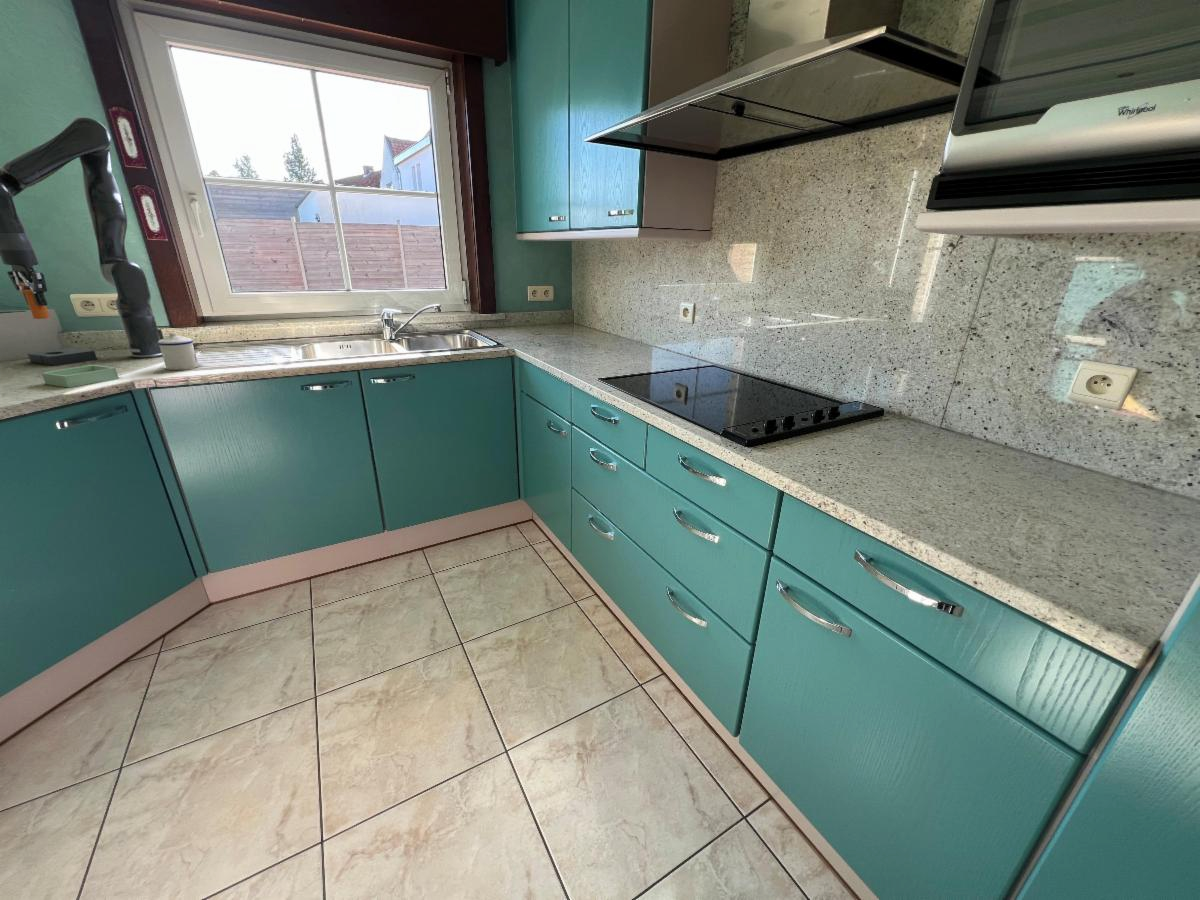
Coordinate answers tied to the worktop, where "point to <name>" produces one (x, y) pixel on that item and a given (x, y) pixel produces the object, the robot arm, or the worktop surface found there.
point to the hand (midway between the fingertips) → (37, 305)
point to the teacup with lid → (178, 352)
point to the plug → (35, 306)
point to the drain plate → (62, 356)
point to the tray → (80, 375)
